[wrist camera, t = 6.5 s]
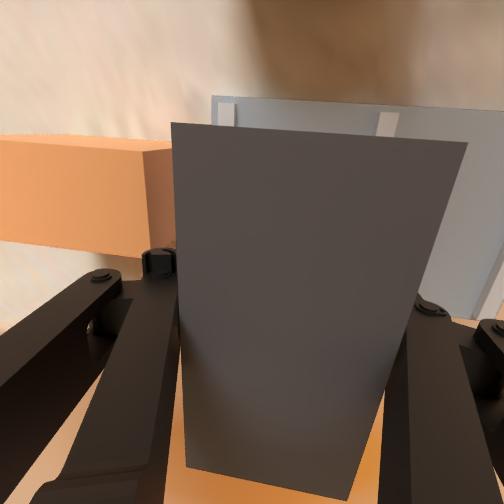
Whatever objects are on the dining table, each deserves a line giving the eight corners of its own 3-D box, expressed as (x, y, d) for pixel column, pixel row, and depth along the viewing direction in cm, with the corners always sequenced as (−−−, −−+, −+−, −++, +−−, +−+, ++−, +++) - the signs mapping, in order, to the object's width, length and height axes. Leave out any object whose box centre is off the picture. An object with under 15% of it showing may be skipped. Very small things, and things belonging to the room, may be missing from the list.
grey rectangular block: (247, 130, 15) (170, 122, 6) (361, 138, 15) (468, 142, 5) (237, 314, 20) (186, 466, 11) (324, 327, 19) (347, 501, 10)
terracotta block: (82, 202, 27) (-28, 237, 18) (70, 134, 25) (-63, 135, 16) (203, 214, 26) (151, 259, 17) (203, 144, 23) (142, 151, 14)
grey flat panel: (215, 96, 22) (208, 94, 20) (579, 117, 19) (606, 115, 17) (213, 279, 28) (208, 288, 26) (486, 315, 25) (499, 328, 24)
